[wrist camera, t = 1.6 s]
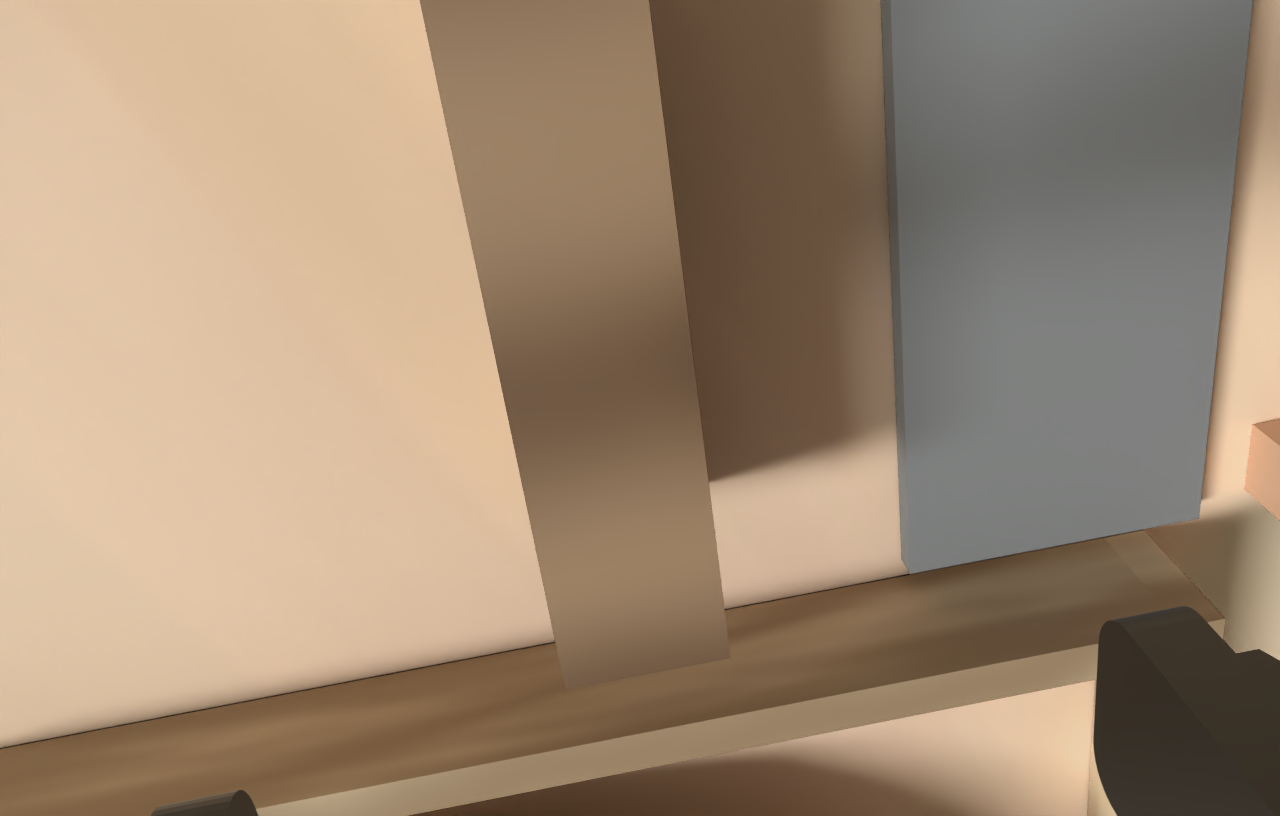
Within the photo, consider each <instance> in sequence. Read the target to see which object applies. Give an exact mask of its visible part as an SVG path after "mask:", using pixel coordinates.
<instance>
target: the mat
mask: <svg viewBox="0 0 1280 816" xmlns="http://www.w3.org/2000/svg"><path fill="white" fill-rule="evenodd" d="M1252 6H1253V0H881V22H882V49H883V76H884V103H885V129H886V156H887V183H888V210H889V237H890V263H891V290H892V317H893V344H894V370H895V397H896V424H897V451H898V477H899V504H900V531H901V558H902V561H903V563H904V564H905V566H906V568H907V570H908V571H909V573H910V574H912V573H918V572H923V571H928V570H933V569H938V568H944V567H949V566H954V565H959V564H965V563H970V562H975V561H980V560H985V559H991V558H996V557H1001V556H1006V555H1012V554H1017V553H1022V552H1027V551H1032V550H1038V549H1043V548H1048V547H1053V546H1059V545H1064V544H1069V543H1074V542H1079V541H1085V540H1090V539H1095V538H1100V537H1106V536H1111V535H1116V534H1121V533H1126V532H1132V531H1137V530H1142V529H1147V528H1153V527H1158V526H1163V525H1168V524H1173V523H1179V522H1184V521H1189V520H1194V519H1199V513H1200V504H1201V494H1202V484H1203V475H1204V465H1205V456H1206V446H1207V437H1208V427H1209V417H1210V408H1211V398H1212V389H1213V379H1214V370H1215V360H1216V350H1217V341H1218V331H1219V322H1220V312H1221V303H1222V293H1223V283H1224V274H1225V264H1226V255H1227V245H1228V235H1229V226H1230V216H1231V207H1232V197H1233V188H1234V178H1235V168H1236V159H1237V149H1238V140H1239V130H1240V121H1241V111H1242V101H1243V92H1244V82H1245V73H1246V63H1247V54H1248V44H1249V34H1250V25H1251V15H1252Z"/></svg>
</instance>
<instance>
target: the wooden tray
mask: <svg viewBox="0 0 1280 816" xmlns="http://www.w3.org/2000/svg"><path fill="white" fill-rule="evenodd" d="M1180 606H1187V607H1190V608H1192V609H1193V610H1195V611H1196V612H1198V613H1199V614H1200V615H1201V616H1202V617H1203V618H1204V619H1205V620H1206V622H1207V623H1208V624H1209V625H1210V626H1211V627H1212V628H1213V629H1214V630H1215V631H1216V632H1217V634H1218V635H1219V636H1220V637H1221V638H1222V639H1223V636H1224V628H1225V620H1226V618H1225V617H1224V616H1223V615H1222V614H1221V613H1220V612H1219V611H1218V610H1217V609H1216V608H1215V607H1214V605H1213V604H1212V603H1211V602H1210V601H1209V600H1208V599H1207V598H1206V597H1205V596H1204V595H1203V594H1202V592H1201V591H1200V590H1199V589H1198V588H1197V587H1196V586H1195V585H1194V584H1193V583H1192V582H1191V581H1190V580H1189V578H1188V577H1187V576H1186V575H1185V574H1184V573H1183V572H1182V571H1181V570H1180V569H1179V568H1178V567H1177V565H1176V564H1175V563H1174V562H1173V561H1172V560H1171V559H1170V558H1169V557H1168V556H1167V555H1166V554H1165V552H1164V551H1163V550H1162V549H1161V548H1160V547H1159V546H1158V545H1157V544H1156V543H1155V542H1154V541H1153V539H1152V538H1151V537H1150V536H1149V535H1148V534H1147V533H1146V532H1145V531H1144V530H1142V531H1137V532H1131V533H1126V534H1121V535H1116V536H1110V537H1105V538H1100V539H1095V540H1090V541H1084V542H1079V543H1074V544H1069V545H1063V546H1058V547H1053V548H1048V549H1043V550H1037V551H1032V552H1027V553H1022V554H1016V555H1011V556H1006V557H1001V558H996V559H990V560H985V561H980V562H975V563H969V564H964V565H959V566H954V567H949V568H943V569H938V570H933V571H928V572H922V573H917V574H912V575H907V576H902V577H896V578H891V579H886V580H881V581H875V582H870V583H865V584H860V585H855V586H849V587H844V588H839V589H834V590H828V591H823V592H818V593H813V594H808V595H802V596H797V597H792V598H787V599H781V600H776V601H771V602H766V603H761V604H755V605H750V606H745V607H740V608H734V609H729V610H725V618H726V626H727V634H728V642H729V650H730V659H724V660H719V661H714V662H709V663H704V664H699V665H693V666H688V667H683V668H678V669H673V670H667V671H662V672H657V673H652V674H647V675H642V676H636V677H631V678H626V679H621V680H616V681H610V682H605V683H600V684H595V685H590V686H585V687H579V688H574V689H569V690H565V685H564V680H563V676H562V671H561V666H560V661H559V657H558V652H557V647H556V643H552V644H546V645H541V646H536V647H531V648H526V649H520V650H515V651H510V652H505V653H499V654H494V655H489V656H484V657H479V658H473V659H468V660H463V661H458V662H452V663H447V664H442V665H437V666H432V667H426V668H421V669H416V670H411V671H405V672H400V673H395V674H390V675H385V676H379V677H374V678H369V679H364V680H359V681H353V682H348V683H343V684H338V685H332V686H327V687H322V688H317V689H312V690H306V691H301V692H296V693H291V694H285V695H280V696H275V697H270V698H265V699H259V700H254V701H249V702H244V703H238V704H233V705H228V706H223V707H218V708H212V709H207V710H202V711H197V712H191V713H186V714H181V715H176V716H171V717H165V718H160V719H155V720H150V721H144V722H139V723H134V724H129V725H124V726H118V727H113V728H108V729H103V730H97V731H92V732H87V733H82V734H77V735H71V736H66V737H61V738H56V739H50V740H45V741H40V742H35V743H30V744H24V745H19V746H14V747H9V748H3V749H0V816H151V814H152V813H153V811H154V810H155V809H156V808H157V807H159V806H161V805H166V804H171V803H176V802H181V801H186V800H191V799H196V798H201V797H206V796H211V795H216V794H221V793H226V792H231V791H237V790H243V791H245V792H246V793H247V794H248V795H249V796H250V798H251V799H252V801H253V804H254V806H255V808H256V811H257V813H258V816H409V815H414V814H419V813H424V812H429V811H434V810H439V809H444V808H449V807H454V806H459V805H464V804H469V803H475V802H480V801H485V800H490V799H495V798H500V797H505V796H510V795H515V794H520V793H525V792H530V791H535V790H540V789H545V788H550V787H555V786H560V785H565V784H570V783H576V782H581V781H586V780H591V779H596V778H601V777H606V776H611V775H616V774H621V773H626V772H631V771H636V770H641V769H646V768H651V767H656V766H661V765H666V764H672V763H677V762H682V761H687V760H692V759H697V758H702V757H707V756H712V755H717V754H722V753H727V752H732V751H737V750H742V749H747V748H752V747H757V746H762V745H768V744H773V743H778V742H783V741H788V740H793V739H798V738H803V737H808V736H813V735H818V734H823V733H828V732H833V731H838V730H843V729H848V728H853V727H858V726H863V725H869V724H874V723H879V722H884V721H889V720H894V719H899V718H904V717H909V716H914V715H919V714H924V713H929V712H934V711H939V710H944V709H949V708H954V707H959V706H965V705H970V704H975V703H980V702H985V701H990V700H995V699H1000V698H1005V697H1010V696H1015V695H1020V694H1025V693H1030V692H1035V691H1040V690H1045V689H1050V688H1055V687H1060V686H1066V685H1071V684H1076V683H1081V682H1086V681H1091V680H1095V696H1094V712H1093V729H1092V746H1091V762H1090V779H1089V796H1088V812H1087V816H1117V815H1116V813H1115V811H1114V810H1113V808H1112V806H1111V804H1110V802H1109V800H1108V798H1107V796H1106V794H1105V791H1104V789H1103V786H1102V783H1101V781H1100V777H1099V774H1098V770H1097V766H1096V762H1095V756H1094V746H1093V736H1094V717H1095V699H1096V680H1097V661H1098V642H1099V634H1100V630H1101V628H1102V626H1103V624H1104V623H1105V622H1107V621H1109V620H1114V619H1119V618H1124V617H1129V616H1134V615H1139V614H1144V613H1149V612H1154V611H1159V610H1165V609H1170V608H1175V607H1180Z"/></svg>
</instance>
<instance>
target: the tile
mask: <svg viewBox="0 0 1280 816" xmlns="http://www.w3.org/2000/svg"><path fill="white" fill-rule="evenodd" d="M1244 489H1245V490H1246V491H1247V492H1248V493H1249V494H1250V495H1251V496H1253V497H1254V498H1255V499H1256V500H1257V501H1258V502H1259V503H1260V504H1262V505H1263V506H1264V507H1265V508H1266V509H1267V510H1268V511H1269V512H1271V513H1272V514H1273V515H1274V516H1275V517H1276V518H1277V519H1278V520H1280V419H1278V420H1273V421H1267V422H1262V423H1257V424H1252V432H1251V440H1250V448H1249V456H1248V464H1247V472H1246V480H1245V488H1244Z"/></svg>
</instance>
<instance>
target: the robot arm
mask: <svg viewBox="0 0 1280 816" xmlns="http://www.w3.org/2000/svg"><path fill="white" fill-rule="evenodd" d="M1093 746H1094V756H1095V762H1096V766H1097V770H1098V774H1099V777H1100V781H1101V783H1102V786H1103V789H1104V791H1105V794H1106V796H1107V798H1108V800H1109V802H1110V804H1111V806H1112V808H1113V810H1114V811H1115V813H1116V815H1117V816H1280V661H1279V660H1277V659H1276V658H1274V657H1272V656H1270V655H1269V654H1267V653H1265V652H1263V651H1261V650H1260V649H1257V650H1252V651H1247V652H1242V653H1237V654H1236V653H1235V652H1234V651H1233V650H1232V649H1231V648H1230V647H1229V646H1228V644H1227V643H1226V642H1225V641H1224V640H1223V639H1222V638H1221V637H1220V636H1219V635H1218V634H1217V632H1216V631H1215V630H1214V629H1213V628H1212V627H1211V626H1210V625H1209V624H1208V623H1207V622H1206V620H1205V619H1204V618H1203V617H1202V616H1201V615H1200V614H1199V613H1198V612H1196V611H1195V610H1193V609H1192V608H1190V607H1187V606H1180V607H1175V608H1170V609H1165V610H1159V611H1154V612H1149V613H1144V614H1139V615H1134V616H1129V617H1124V618H1119V619H1114V620H1109V621H1107V622H1105V623H1104V624H1103V626H1102V628H1101V630H1100V634H1099V642H1098V661H1097V680H1096V699H1095V717H1094V736H1093ZM151 816H258V813H257V811H256V808H255V806H254V804H253V801H252V799H251V798H250V796H249V795H248V794H247V793H246V792H245V791H243V790H237V791H231V792H226V793H221V794H216V795H211V796H206V797H201V798H196V799H191V800H186V801H181V802H176V803H171V804H166V805H161V806H159V807H157V808H156V809H155V810H154V811H153V813H152V814H151Z"/></svg>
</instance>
